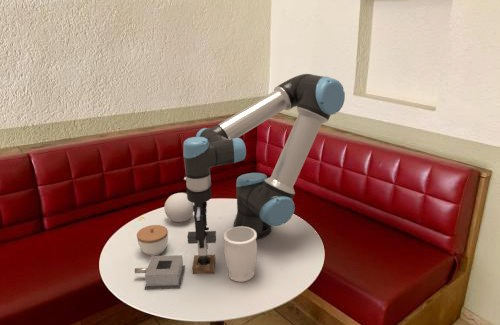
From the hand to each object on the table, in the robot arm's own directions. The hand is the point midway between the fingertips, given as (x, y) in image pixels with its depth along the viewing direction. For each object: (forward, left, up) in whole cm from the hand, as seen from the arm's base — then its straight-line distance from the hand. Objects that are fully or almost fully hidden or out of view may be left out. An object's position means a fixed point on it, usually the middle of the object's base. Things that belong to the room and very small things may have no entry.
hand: (203, 251), depth 125 cm
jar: (-12, +4, -6) cm, 15 cm away
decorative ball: (+13, -33, -6) cm, 36 cm away
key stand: (0, 0, -6) cm, 6 cm away
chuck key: (0, 0, -5) cm, 5 cm away
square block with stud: (+14, +5, -6) cm, 16 cm away
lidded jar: (+19, -11, -6) cm, 23 cm away
